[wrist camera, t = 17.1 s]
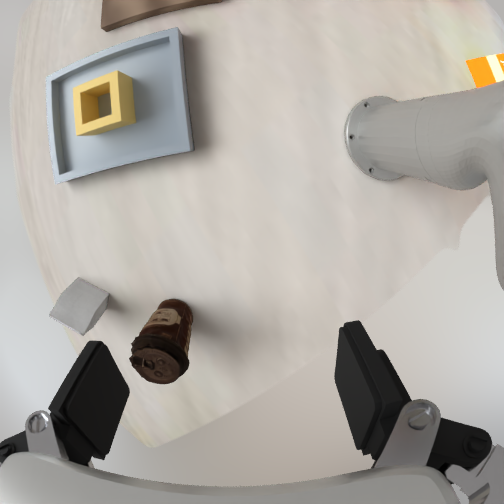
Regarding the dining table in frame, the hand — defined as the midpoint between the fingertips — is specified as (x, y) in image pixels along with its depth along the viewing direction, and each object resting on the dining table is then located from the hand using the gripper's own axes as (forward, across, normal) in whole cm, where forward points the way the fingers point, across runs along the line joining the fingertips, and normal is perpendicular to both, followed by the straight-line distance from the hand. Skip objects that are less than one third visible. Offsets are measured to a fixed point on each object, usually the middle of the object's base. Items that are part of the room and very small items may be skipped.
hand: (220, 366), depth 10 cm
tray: (+30, +16, -17) cm, 38 cm away
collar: (+29, +16, -17) cm, 37 cm away
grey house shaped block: (+31, +28, +12) cm, 43 cm away
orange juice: (+31, -49, -23) cm, 62 cm away
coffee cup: (+31, +13, +17) cm, 37 cm away
